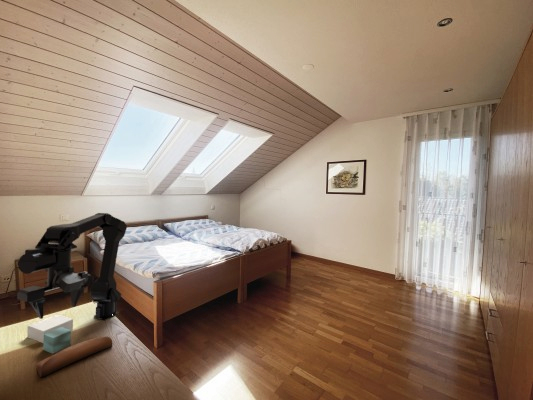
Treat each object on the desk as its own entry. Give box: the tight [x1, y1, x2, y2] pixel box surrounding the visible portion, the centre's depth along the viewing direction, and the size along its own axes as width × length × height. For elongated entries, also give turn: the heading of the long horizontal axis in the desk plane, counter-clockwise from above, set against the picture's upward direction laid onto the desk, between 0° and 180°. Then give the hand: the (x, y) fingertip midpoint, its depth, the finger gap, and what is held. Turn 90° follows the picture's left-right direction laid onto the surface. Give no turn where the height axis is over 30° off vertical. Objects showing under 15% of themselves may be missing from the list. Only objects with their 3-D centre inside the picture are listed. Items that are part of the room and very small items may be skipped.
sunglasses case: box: [34, 336, 113, 379], centre depth 75 cm, size 18×7×7 cm, turn 145°
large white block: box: [27, 313, 74, 344], centre depth 87 cm, size 9×9×4 cm
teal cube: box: [42, 327, 72, 355], centre depth 79 cm, size 5×5×5 cm
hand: (58, 312), depth 80 cm, fingers open, 9 cm apart
